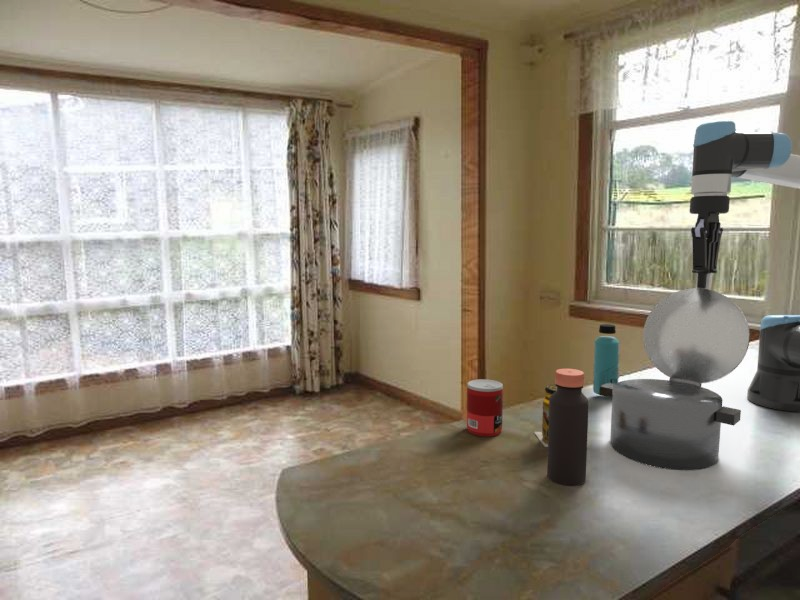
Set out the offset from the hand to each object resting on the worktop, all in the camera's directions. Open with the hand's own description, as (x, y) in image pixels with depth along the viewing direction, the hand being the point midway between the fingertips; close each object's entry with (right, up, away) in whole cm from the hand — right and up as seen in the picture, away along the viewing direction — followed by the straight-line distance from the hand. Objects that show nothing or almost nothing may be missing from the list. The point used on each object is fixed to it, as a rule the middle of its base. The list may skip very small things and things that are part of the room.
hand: (702, 302), depth 120 cm
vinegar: (-37, -32, -22) cm, 54 cm away
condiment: (-34, -30, -4) cm, 46 cm away
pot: (-14, -30, -10) cm, 35 cm away
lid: (-4, -7, -3) cm, 9 cm away
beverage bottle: (-13, -26, +24) cm, 38 cm away
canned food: (-49, -29, +1) cm, 57 cm away
